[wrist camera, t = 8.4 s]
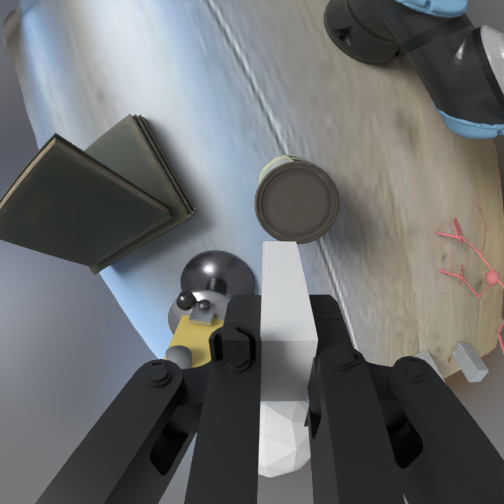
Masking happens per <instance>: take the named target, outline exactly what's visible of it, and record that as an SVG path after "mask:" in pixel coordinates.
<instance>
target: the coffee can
mask: <svg viewBox="0 0 504 504" xmlns="http://www.w3.org/2000/svg"><path fill="white" fill-rule="evenodd" d="M338 208H339V196H338V191H337V189H336V186H335V184H334V182H333V181H332V179H331V178H330V176H329V175H328V174H327V173H326V172H325V171H323V170H322V169H321V168H319V167H317V166H315V165H313V164H311V163H309V162H308V161H307V160H305V159H303V158H301V157H299V156H295V155H282V156H278V157H276V158H274V159H272V160H271V161H269V162H268V163H267V164H266V165H265V166H264V168H263V169H262V171H261V173H260V176H259V181H258V188H257V191H256V195H255V212H256V216H257V218H258V221H259V223H260V224H261V226H262V227H263V229H264V230H265V231H266V232H267V233H268V234H269V235H271V236H272V237H273V238H275V239H277V240H279V241H283V242H296V244H304V243H308V242H312V241H314V240H316V239H318V238H320V237H321V236H323V235H324V234H325V233H326V232H327V231H328V230H329V229H330V227H331V226H332V225H333V223H334V221H335V219H336V217H337V214H338Z"/></svg>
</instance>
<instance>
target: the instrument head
mask: <svg viewBox="0 0 504 504" xmlns="http://www.w3.org/2000/svg"><path fill="white" fill-rule="evenodd" d="M189 317H190V316H186V315H182V317H181V320H180V322H179V324H178V327H177V329H176V331H175V334H174V336H173V338H172V341H171V343H170V345H169V348H168V349H167V351H166V355H165V357H164V360H170V361H172V362H174V363H176V364H177V365H178V366H179V367H180V368H181V369H187V368H193V367H198V366H202V365H204V364H206V363H208V362H209V361H211V354H210V347H209V340H208V339H209V337H210V335H211V333H212V332H214V331H215V330H216V329H218V328H219V327H222V326H223V324H224V320H218V319H212V323H211V326H208V325H200V324H192V323H189Z"/></svg>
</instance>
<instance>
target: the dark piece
mask: <svg viewBox="0 0 504 504" xmlns="http://www.w3.org/2000/svg"><path fill="white" fill-rule="evenodd" d="M196 211H197V208H195V207H194V206H193V204H192V202H191V200H190V199H189V197H188V195H187V194H186V192H185V190H184V188H183V187H182V185H181V183H180V181H179V180H178V178H177V176H176V174H175V173H174V171H173V169H172V167H171V165H170V164H169V162H168V160H167V158H166V157H165V155H164V153H163V151H162V149H161V148H160V146H159V144H158V142H157V140H156V139H155V137H154V135H153V133H152V131H151V130H150V128H149V126H148V124H147V122H146V121H145V119H144V117H142V116H141V115H139V116H138V117H137V115H134V116H131V114H129V115H128V116H127V117H125V118H124V119H123V120H121V121H120V122H119V123H118V124H116V125H115V126H114V127H112V128H111V129H110V130H109V131H107V132H106V133H105V134H104V135H102V136H101V137H100V138H99V139H98V140H96V141H95V142H94V143H93V144H92V145H90V146H89V147H88V148H87V149H86V150H85V151H82V150H81V149H79V148H78V147H76V146H75V145H73V144H72V143H70V142H69V141H67V140H66V139H64V138H62V137H61V136H59V135H58V134H56V133H55V134H54V135H53V136H52V137H51V138H50V139H49V140H48V141H47V142H46V143H45V144H44V145H43V146H42V148H41V149H40V150H39V151H38V152H37V153H36V154H35V155H34V157H33V158H32V159H31V160H30V161H29V163H28V164H27V165H26V166H25V167H24V169H23V170H22V171H21V172H20V174H19V175H18V176H17V178H16V179H15V180H14V181H13V183H12V184H11V185H10V187H9V188H8V189H7V191H6V192H5V193H4V195H3V196H2V198H1V199H0V239H1V240H4V241H7V242H10V243H13V244H16V245H19V246H22V247H25V248H28V249H32V250H35V251H38V252H41V253H45V254H48V255H52V256H55V257H58V258H62V259H65V260H68V261H72V262H76V263H79V264H83V265H86V266H89V268H90V269H91V271H92V272H93V273H94V274H96V273H98V272H100V271H101V270H103V269H105V268H106V267H108V266H109V265H111V264H113V263H114V262H116V261H118V260H119V259H121V258H123V257H124V256H126V255H128V254H129V253H131V252H133V251H134V250H136V249H138V248H140V247H141V246H143V245H145V244H146V243H148V242H150V241H152V240H153V239H155V238H157V237H159V236H160V235H162V234H164V233H166V232H167V231H169V230H171V229H173V228H175V227H176V226H178V225H180V224H182V223H184V222H185V221H187V220H189V219H190V218H191V217H192V216H193V215H194V213H195V212H196Z"/></svg>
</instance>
